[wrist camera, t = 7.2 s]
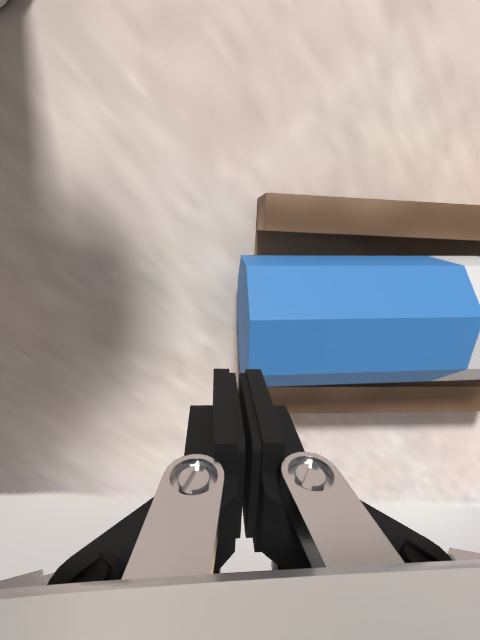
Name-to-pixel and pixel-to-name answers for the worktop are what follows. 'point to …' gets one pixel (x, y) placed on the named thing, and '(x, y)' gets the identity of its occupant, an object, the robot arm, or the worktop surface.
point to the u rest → (369, 240)
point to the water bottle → (359, 318)
